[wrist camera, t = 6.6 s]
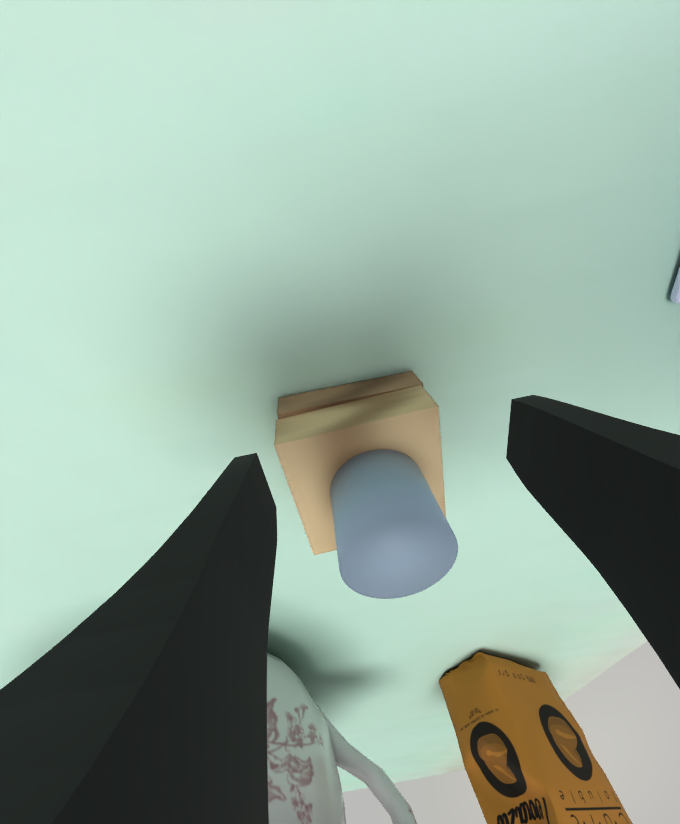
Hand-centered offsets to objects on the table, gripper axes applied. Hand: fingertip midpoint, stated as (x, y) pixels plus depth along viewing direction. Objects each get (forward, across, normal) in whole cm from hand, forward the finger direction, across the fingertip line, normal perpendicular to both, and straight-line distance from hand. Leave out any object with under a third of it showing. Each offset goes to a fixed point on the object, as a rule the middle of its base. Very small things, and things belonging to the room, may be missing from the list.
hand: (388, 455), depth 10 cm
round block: (+6, 0, +7) cm, 9 cm away
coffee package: (+11, -10, +42) cm, 45 cm away
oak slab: (+8, 0, +6) cm, 11 cm away
